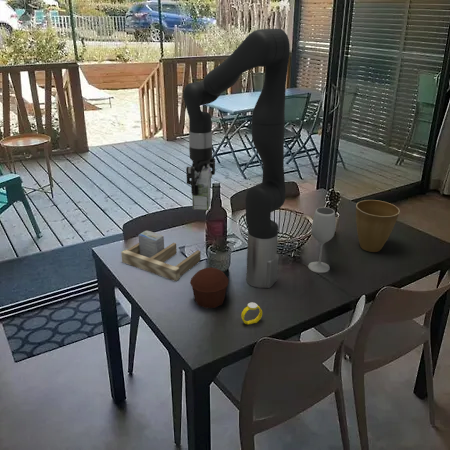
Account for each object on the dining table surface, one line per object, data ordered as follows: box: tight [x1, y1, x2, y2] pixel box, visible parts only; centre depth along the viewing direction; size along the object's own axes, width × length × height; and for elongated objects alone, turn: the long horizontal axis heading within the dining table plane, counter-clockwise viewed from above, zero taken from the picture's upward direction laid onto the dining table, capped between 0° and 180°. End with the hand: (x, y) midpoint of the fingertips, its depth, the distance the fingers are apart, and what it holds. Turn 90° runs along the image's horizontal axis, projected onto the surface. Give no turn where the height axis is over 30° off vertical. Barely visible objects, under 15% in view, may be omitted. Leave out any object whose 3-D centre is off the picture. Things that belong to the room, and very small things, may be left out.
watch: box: [240, 301, 263, 325], centre depth 136 cm, size 6×3×6 cm, turn 113°
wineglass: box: [307, 206, 336, 274], centre depth 160 cm, size 8×8×21 cm
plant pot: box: [355, 199, 401, 253], centre depth 175 cm, size 15×15×16 cm
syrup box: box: [191, 166, 211, 211], centre depth 166 cm, size 6×6×14 cm
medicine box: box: [137, 230, 165, 258], centre depth 168 cm, size 8×4×9 cm, turn 58°
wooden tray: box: [120, 242, 202, 282], centre depth 166 cm, size 23×15×4 cm, turn 59°
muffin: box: [189, 266, 230, 309], centre depth 144 cm, size 12×11×10 cm
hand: (201, 191), depth 166 cm, fingers closed on syrup box, 7 cm apart
